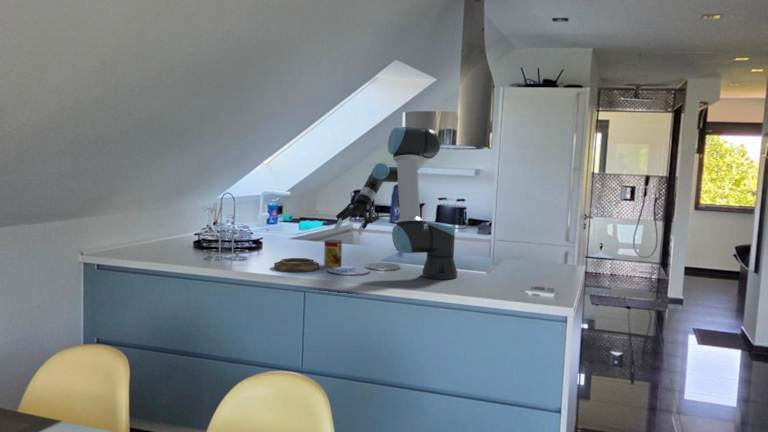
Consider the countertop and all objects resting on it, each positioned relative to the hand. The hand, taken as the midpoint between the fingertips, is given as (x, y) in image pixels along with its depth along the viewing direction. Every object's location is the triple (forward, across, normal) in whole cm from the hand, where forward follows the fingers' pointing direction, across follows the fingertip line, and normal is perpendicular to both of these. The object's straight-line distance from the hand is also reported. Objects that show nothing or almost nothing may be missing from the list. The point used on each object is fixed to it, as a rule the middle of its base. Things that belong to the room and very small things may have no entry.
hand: (347, 231), depth 297 cm
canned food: (+19, 0, -3) cm, 19 cm away
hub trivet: (+28, +10, +7) cm, 31 cm away
